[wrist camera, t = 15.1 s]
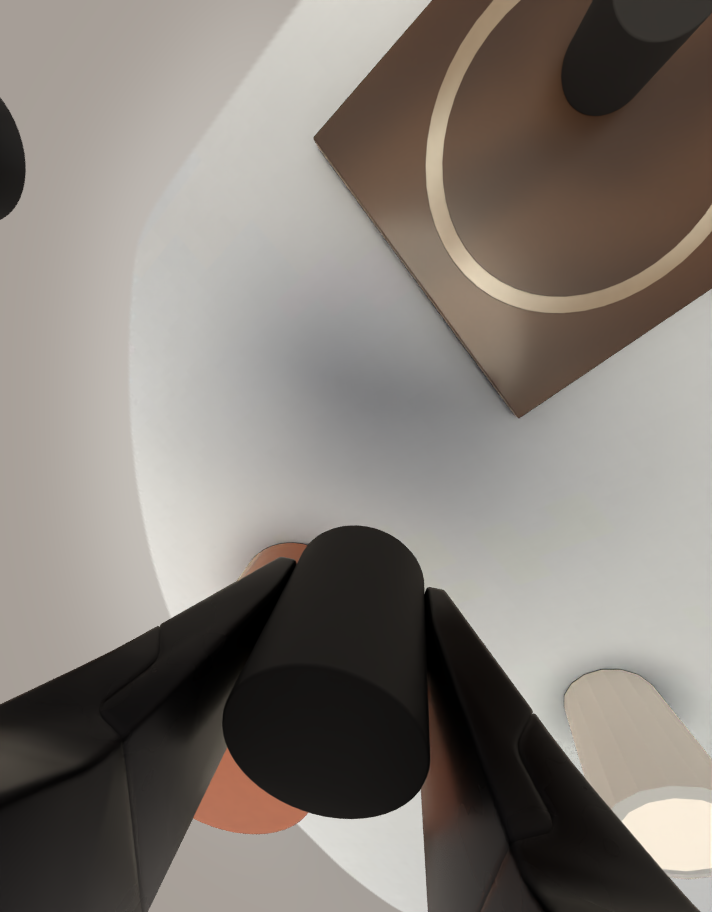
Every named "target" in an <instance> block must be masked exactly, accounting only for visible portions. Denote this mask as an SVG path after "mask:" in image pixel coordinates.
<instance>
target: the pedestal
mask: <svg viewBox="0 0 712 912" xmlns="http://www.w3.org/2000/svg"><path fill="white" fill-rule="evenodd" d="M306 547H307V545H305V544H299V543H283V544H278V545H274V546H271V547H269V548H266V549H264V550H263V551H261V552H260V553H258V554H257V555H256V556H255V557H254V558H253V559H252V560H251V562H250V563H249V564H248V566H247V567H246V569H245V570H244V571H243V573H242V574H241V576H240V577H239V578H238V580H240V579H241V578H243V577H245V576H247V575H249V574H250V573H252V572H254V571H256V570H257V569H259V568H261V567H263V566H264V565H266V564H268V563H270V562H271V561H273V560H275V559H277V558H279V557H286V558H291V559H295V560H296V563H297V562H298V560H299V558H300V556H301V555H302V553H303V551H304V549H305V548H306ZM238 580H237V581H238ZM307 814H308V812H306V811H302V810H300V809H297V808H295V807H292V806H290V805H288V804H286V803H284V802H282V801H279V800H278V799H276V798H274V797H273V796H271V795H269V794H268V793H267V792H265V791H264V790H262V789H261V788H260V787H258V786H257V785H256V784H255V783H254V782H252V781H251V780H250V779H249V778H248V777H247V776H246V775H245V774H244V773H243V771H242V770H241V769H240V768H239V766H238V765H237V764H236V762H235V761H234V759H233V758H232V756H231V754H230V752H229V750H228V748H227V749H226V751H225V753H224V755H223V757H222V759H221V762H220V764H219V766H218V768H217V770H216V772H215V774H214V776H213V778H212V780H211V782H210V784H209V786H208V788H207V790H206V793H205V795H204V797H203V799H202V801H201V803H200V805H199V807H198V809H197V811H196V813H195V815H194V817H193V818H194V819H196V820H198V821H200V822H202V823H205V824H207V825H210V826H212V827H215V828H219V829H222V830H226V831H231V832H236V833H243V834H268V833H274V832H278V831H281V830H285V829H287V828H289V827H291V826H294V825H295V824H297V823H298V822H300V821H301V820H302V819H303V818H304V817H305V816H306V815H307Z"/></svg>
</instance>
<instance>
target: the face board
mask: <svg viewBox="0 0 712 912" xmlns="http://www.w3.org/2000/svg"><path fill="white" fill-rule="evenodd" d="M592 1H593V0H432V1H431V2H430V3H429V5H428V6H427V7H426V8H425V9H424V10H423V12H422V13H421V14H420V15H419V16H418V17H417V18H416V20H415V21H414V22H413V23H412V24H411V25H410V27H409V28H408V29H407V30H406V31H405V32H404V33H403V35H402V36H401V37H400V38H399V39H398V40H397V42H396V43H395V44H394V45H393V46H392V47H391V48H390V50H389V51H388V52H387V53H386V54H385V55H384V57H383V58H382V59H381V60H380V61H379V62H378V63H377V65H376V66H375V67H374V68H373V69H372V70H371V72H370V73H369V74H368V75H367V76H366V77H365V79H364V80H363V81H362V82H361V83H360V84H359V85H358V87H357V88H356V89H355V90H354V91H353V92H352V94H351V95H350V96H349V97H348V98H347V99H346V100H345V102H344V103H343V104H342V105H341V106H340V107H339V109H338V110H337V111H336V112H335V113H334V114H333V115H332V117H331V118H330V119H329V120H328V121H327V122H326V124H325V125H324V126H323V127H322V128H321V129H320V130H319V132H318V133H317V134H316V135H315V136H314V141H315V143H316V144H317V146H318V148H319V150H320V151H321V152H322V154H323V155H324V157H325V158H326V159H327V161H328V162H329V163H330V165H331V166H332V167H333V169H334V170H335V172H336V173H337V174H338V176H339V177H340V178H341V180H342V181H343V182H344V184H345V185H346V187H347V188H348V189H349V191H350V192H351V193H352V195H353V196H354V197H355V199H356V200H357V202H358V203H359V204H360V206H361V207H362V208H363V210H364V211H365V212H366V214H367V215H368V217H369V218H370V219H371V221H372V222H373V223H374V225H375V226H376V227H377V229H378V230H379V231H380V233H381V234H382V236H383V237H384V238H385V240H386V241H387V242H388V244H389V245H390V246H391V248H392V249H393V251H394V252H395V253H396V255H397V256H398V257H399V259H400V260H401V261H402V263H403V264H404V266H405V267H406V268H407V270H408V271H409V272H410V274H411V275H412V276H413V278H414V279H415V281H416V282H417V283H418V285H419V286H420V287H421V289H422V290H423V291H424V293H425V294H426V296H427V297H428V298H429V300H430V301H431V302H432V304H433V305H434V306H435V308H436V309H437V311H438V312H439V313H440V315H441V316H442V317H443V319H444V320H445V321H446V323H447V324H448V326H449V327H450V328H451V330H452V331H453V332H454V334H455V335H456V336H457V338H458V339H459V340H460V342H461V343H462V345H463V346H464V347H465V349H466V350H467V351H468V353H469V354H470V355H471V357H472V358H473V360H474V361H475V362H476V364H477V365H478V366H479V368H480V369H481V370H482V372H483V373H484V375H485V376H486V377H487V379H488V380H489V381H490V383H491V384H492V385H493V387H494V388H495V390H496V391H497V392H498V394H499V395H500V396H501V398H502V399H503V400H504V402H505V403H506V405H507V406H508V407H509V409H510V410H511V411H512V413H513V414H514V415H515V416H516V417H518V418H520V417H522V416H523V415H525V414H526V413H528V412H529V411H531V410H532V409H534V408H535V407H537V406H538V405H540V404H541V403H543V402H544V401H546V400H547V399H549V398H550V397H552V396H553V395H554V394H556V393H557V392H559V391H560V390H562V389H563V388H565V387H566V386H568V385H569V384H571V383H572V382H574V381H575V380H577V379H578V378H580V377H581V376H583V375H584V374H586V373H587V372H589V371H590V370H592V369H593V368H595V367H596V366H598V365H599V364H600V363H602V362H603V361H605V360H606V359H608V358H609V357H611V356H612V355H614V354H615V353H617V352H618V351H620V350H621V349H623V348H624V347H626V346H627V345H629V344H630V343H632V342H633V341H635V340H636V339H638V338H639V337H641V336H642V335H644V334H645V333H646V332H648V331H649V330H651V329H652V328H654V327H655V326H657V325H658V324H660V323H661V322H663V321H664V320H666V319H667V318H669V317H670V316H672V315H673V314H675V313H676V312H678V311H679V310H681V309H682V308H684V307H685V306H687V305H688V304H690V303H691V302H692V301H694V300H695V299H697V298H698V297H700V296H701V295H703V294H704V293H706V292H707V291H709V290H710V289H712V13H711V15H710V16H709V17H708V18H707V19H706V20H705V21H704V22H703V23H702V24H701V25H700V26H699V28H698V29H697V30H696V31H695V32H694V33H693V34H692V35H691V36H690V37H689V38H688V39H687V40H686V42H685V43H684V44H683V45H682V46H681V47H680V48H679V49H678V50H677V51H676V52H675V53H674V55H673V56H672V57H671V58H670V59H669V60H668V61H667V62H666V63H665V64H664V65H663V66H662V67H661V69H660V70H659V71H658V72H657V73H656V74H655V75H654V76H653V77H652V78H651V79H650V80H649V82H648V83H647V84H646V85H645V86H644V87H643V88H642V89H641V90H640V91H639V92H638V93H637V94H636V96H635V97H634V98H633V99H632V100H631V101H629V102H628V103H627V104H626V105H624V106H623V107H621V108H620V109H618V110H616V111H614V112H612V113H609V114H606V115H601V116H591V115H586V114H583V113H581V112H579V111H577V110H576V109H574V108H573V107H572V106H571V104H570V103H569V102H568V100H567V98H566V96H565V94H564V91H563V87H562V79H561V74H562V65H563V60H564V56H565V53H566V51H567V48H568V46H569V44H570V42H571V40H572V38H573V36H574V35H575V33H576V31H577V29H578V27H579V25H580V23H581V21H582V20H583V18H584V16H585V14H586V12H587V10H588V8H589V6H590V5H591V3H592Z"/></svg>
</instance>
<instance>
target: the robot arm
mask: <svg viewBox="0 0 712 912" xmlns="http://www.w3.org/2000/svg"><path fill="white" fill-rule="evenodd" d="M296 564H297V563H296V560H295V559H291V558H286V557H279V558H277V559H275V560H273V561H271V562H270V563H268V564H266V565H264V566H263V567H261V568H259V569H257V570H256V571H254V572H252V573H250V574H249V575H247V576H245V577H243V578H241V579H240V580H238V581H236V582H234V583H233V584H231V585H229V586H227V587H226V588H224V589H222V590H220V591H219V592H217V593H215V594H213V595H211V596H210V597H208V598H206V599H204V600H203V601H201V602H199V603H197V604H196V605H194V606H192V607H190V608H189V609H187V610H185V611H183V612H181V613H180V614H178V615H176V616H174V617H173V618H171V619H169V620H167V621H166V622H164V623H162V624H161V625H160V627H159V626H157V627H155V628H153V629H151V630H149V631H148V632H146V633H144V634H142V635H141V636H139V637H137V638H135V639H133V640H132V641H130V642H128V643H126V644H124V645H122V646H120V647H118V648H117V649H115V650H113V651H111V652H109V653H107V654H105V655H103V656H101V657H99V658H97V659H95V660H93V661H91V662H88V663H86V664H84V665H82V666H80V667H78V668H76V669H74V670H72V671H70V672H68V673H66V674H63V675H61V676H60V677H57V678H55V679H53V680H51V681H49V682H47V683H45V684H42V685H40V686H38V687H36V688H34V689H32V690H30V691H28V692H25V693H23V694H21V695H19V696H17V697H15V698H13V699H11V700H9V701H6V702H4V703H2V704H0V912H148V910H149V908H150V906H151V904H152V902H153V900H154V898H155V896H156V893H157V892H158V889H159V887H160V885H161V883H162V881H163V879H164V877H165V875H166V873H167V871H168V869H169V867H170V865H171V863H172V860H173V858H174V856H175V854H176V852H177V850H178V848H179V846H180V844H181V842H182V840H183V838H184V836H185V834H186V831H187V830H188V827H189V826H190V823H191V821H192V819H193V817H194V815H195V813H196V811H197V809H198V807H199V805H200V803H201V801H202V799H203V797H204V795H205V793H206V790H207V788H208V786H209V784H210V782H211V780H212V778H213V776H214V774H215V772H216V770H217V768H218V766H219V764H220V762H221V759H222V757H223V755H224V753H225V751H226V749H227V745H226V743H225V739H224V735H223V728H222V719H223V710H224V707H225V703H226V701H227V699H228V697H229V695H230V693H231V691H232V689H233V687H234V685H235V683H236V681H237V679H238V677H239V675H240V673H241V671H242V669H243V667H244V665H245V663H246V662H247V660H248V658H249V656H250V654H251V652H252V650H253V648H254V646H255V644H256V642H257V640H258V638H259V636H260V634H261V632H262V630H263V628H264V626H265V625H266V623H267V621H268V619H269V617H270V615H271V613H272V611H273V609H274V607H275V605H276V603H277V601H278V599H279V597H280V595H281V593H282V591H283V590H284V588H285V586H286V584H287V582H288V580H289V578H290V576H291V574H292V572H293V570H294V568H295V566H296ZM425 623H426V650H427V678H428V707H429V735H430V767H429V772H428V775H427V777H426V780H425V783H424V784H423V786H422V788H421V800H422V817H423V834H424V851H425V868H426V886H427V903H428V912H700V911H699V910H698V909H697V908H696V907H695V906H694V905H693V904H692V903H691V901H690V900H689V899H688V898H687V897H686V896H685V895H684V894H683V893H682V891H681V890H680V889H679V888H678V887H677V886H676V885H675V884H674V882H673V881H672V880H671V879H670V878H669V876H668V875H667V874H666V873H665V872H664V871H663V869H662V868H661V867H660V866H659V865H658V864H657V862H656V861H655V860H654V859H653V858H652V857H651V855H650V854H649V853H648V852H647V851H646V850H645V848H644V847H643V846H642V845H641V844H640V843H639V841H638V840H637V839H636V838H635V837H634V835H633V834H632V833H631V832H630V831H629V830H628V828H627V827H626V826H625V825H624V824H623V823H622V821H621V820H620V819H619V818H618V817H617V816H616V814H615V813H614V812H613V811H612V810H611V809H610V807H609V806H608V805H607V804H606V803H605V802H604V800H603V799H602V798H601V797H600V796H599V794H598V793H597V792H596V791H595V790H594V788H593V787H592V786H591V785H590V784H589V782H588V781H587V780H586V779H585V778H584V776H583V775H582V774H581V773H580V771H579V770H578V769H577V768H576V767H575V765H574V764H573V763H572V762H571V761H570V759H569V758H568V757H567V755H566V754H565V753H564V751H563V750H562V749H561V747H560V746H559V745H558V744H557V742H556V741H555V740H554V738H553V737H552V736H551V734H550V733H549V732H548V730H547V729H546V728H545V726H544V725H543V724H542V722H541V721H540V720H539V718H538V717H537V715H536V714H532V713H533V711H532V709H531V708H530V706H529V705H528V703H527V702H526V701H525V699H524V698H523V697H522V695H521V694H520V693H519V691H518V690H517V688H516V687H515V686H514V684H513V683H512V682H511V680H510V679H509V678H508V676H507V675H506V673H505V672H504V671H503V669H502V668H501V667H500V665H499V664H498V663H497V661H496V660H495V658H494V657H493V656H492V654H491V653H490V652H489V650H488V649H487V648H486V646H485V645H484V644H483V642H482V641H481V639H480V638H479V637H478V635H477V634H476V633H475V631H474V630H473V629H472V627H471V626H470V624H469V623H468V622H467V620H466V619H465V618H464V616H463V615H462V614H461V612H460V611H459V609H458V608H457V607H456V605H455V604H454V603H453V601H452V600H451V599H450V597H449V596H448V594H447V593H446V592H445V591H444V590H442V589H437V588H432V587H428V588H427V589H426V591H425Z"/></svg>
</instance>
